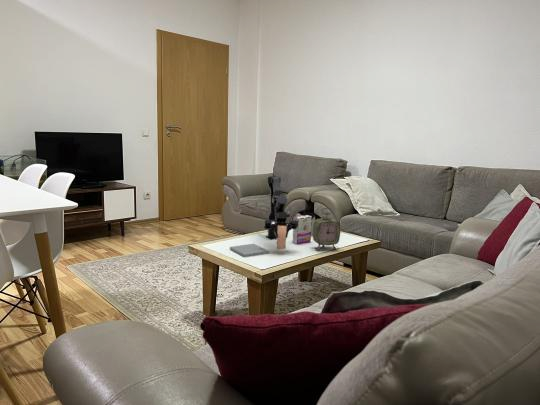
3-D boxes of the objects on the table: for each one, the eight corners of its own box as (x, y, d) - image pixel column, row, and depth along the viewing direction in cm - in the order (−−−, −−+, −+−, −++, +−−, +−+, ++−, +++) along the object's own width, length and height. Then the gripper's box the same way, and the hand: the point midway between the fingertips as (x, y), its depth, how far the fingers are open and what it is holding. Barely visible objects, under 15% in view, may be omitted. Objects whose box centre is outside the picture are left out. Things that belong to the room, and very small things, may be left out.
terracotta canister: (274, 247, 243) (275, 225, 241) (282, 246, 246) (283, 224, 244) (279, 250, 239) (281, 227, 237) (287, 248, 242) (288, 226, 240)
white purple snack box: (312, 237, 281) (314, 214, 279) (291, 234, 286) (293, 212, 283) (315, 234, 290) (317, 212, 287) (295, 231, 294) (296, 209, 291)
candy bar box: (305, 240, 273) (307, 214, 270) (310, 242, 269) (312, 216, 266) (291, 242, 266) (293, 216, 263) (297, 244, 262) (298, 218, 259)
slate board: (229, 249, 246) (229, 246, 246) (253, 246, 255) (253, 243, 255) (244, 257, 233) (244, 254, 233) (268, 253, 242) (269, 250, 242)
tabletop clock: (316, 251, 250) (318, 209, 245) (310, 247, 258) (312, 206, 254) (339, 250, 254) (342, 208, 249) (332, 246, 262) (335, 205, 258)
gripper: (265, 205, 241) (266, 230, 232) (298, 206, 243) (301, 230, 235) (263, 216, 250) (264, 240, 241) (295, 216, 252) (297, 240, 244)
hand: (281, 237), depth 240 cm, fingers closed on terracotta canister, 5 cm apart
